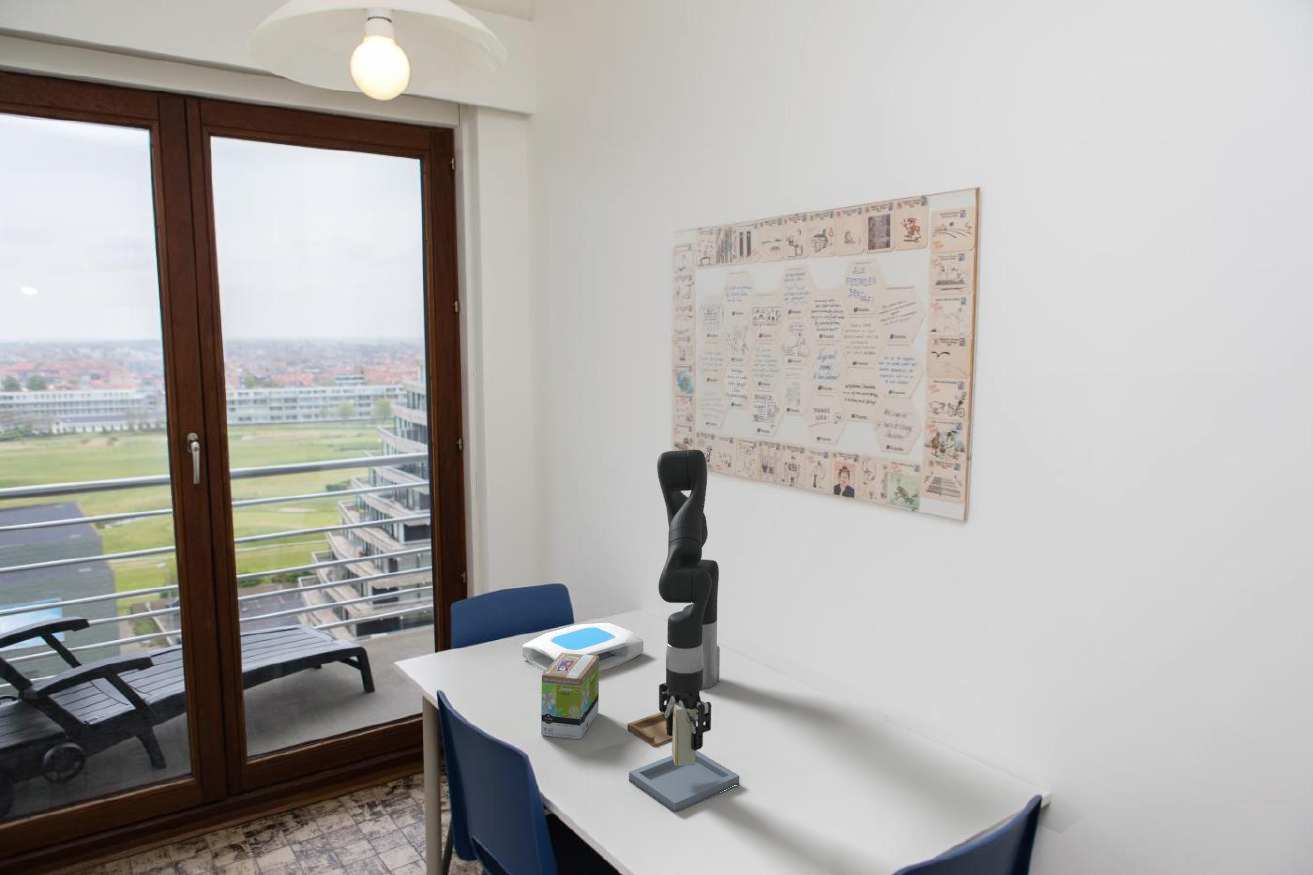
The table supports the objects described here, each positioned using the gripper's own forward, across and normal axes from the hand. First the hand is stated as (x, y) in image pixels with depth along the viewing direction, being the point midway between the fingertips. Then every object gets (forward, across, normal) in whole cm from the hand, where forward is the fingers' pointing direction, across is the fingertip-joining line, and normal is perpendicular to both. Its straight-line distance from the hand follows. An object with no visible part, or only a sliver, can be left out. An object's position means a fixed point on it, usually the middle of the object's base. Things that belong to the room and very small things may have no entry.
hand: (684, 741), depth 173 cm
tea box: (+9, +37, +4) cm, 38 cm away
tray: (+9, 0, 0) cm, 9 cm away
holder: (+9, +21, -10) cm, 25 cm away
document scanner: (+9, +70, -21) cm, 74 cm away
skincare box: (+4, 0, 0) cm, 4 cm away
